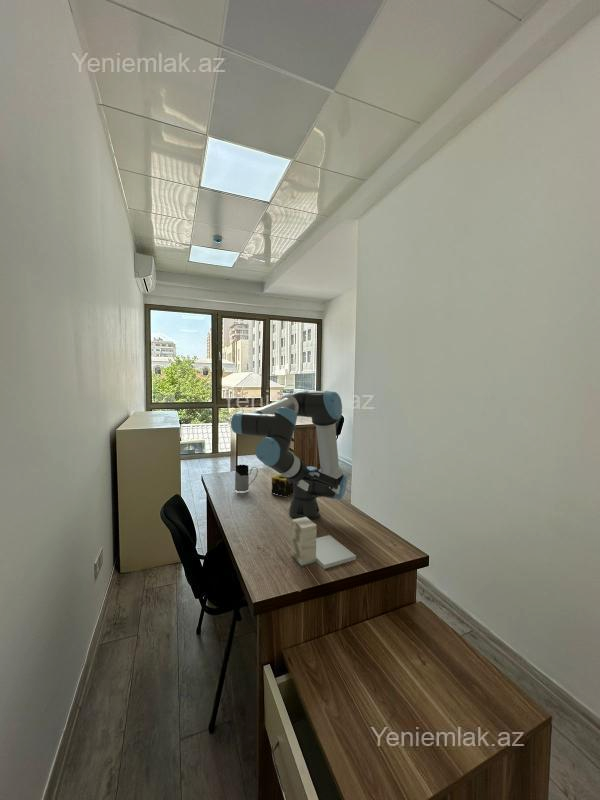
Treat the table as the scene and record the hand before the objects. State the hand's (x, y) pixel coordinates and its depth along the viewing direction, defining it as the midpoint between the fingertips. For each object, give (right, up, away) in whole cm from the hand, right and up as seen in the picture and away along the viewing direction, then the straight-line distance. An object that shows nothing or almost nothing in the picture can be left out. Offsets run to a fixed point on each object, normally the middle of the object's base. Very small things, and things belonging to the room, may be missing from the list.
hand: (322, 488), depth 122 cm
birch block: (-7, -26, 0) cm, 27 cm away
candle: (-18, -22, +70) cm, 76 cm away
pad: (+2, -26, +5) cm, 27 cm away
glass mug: (-41, -21, +74) cm, 87 cm away
